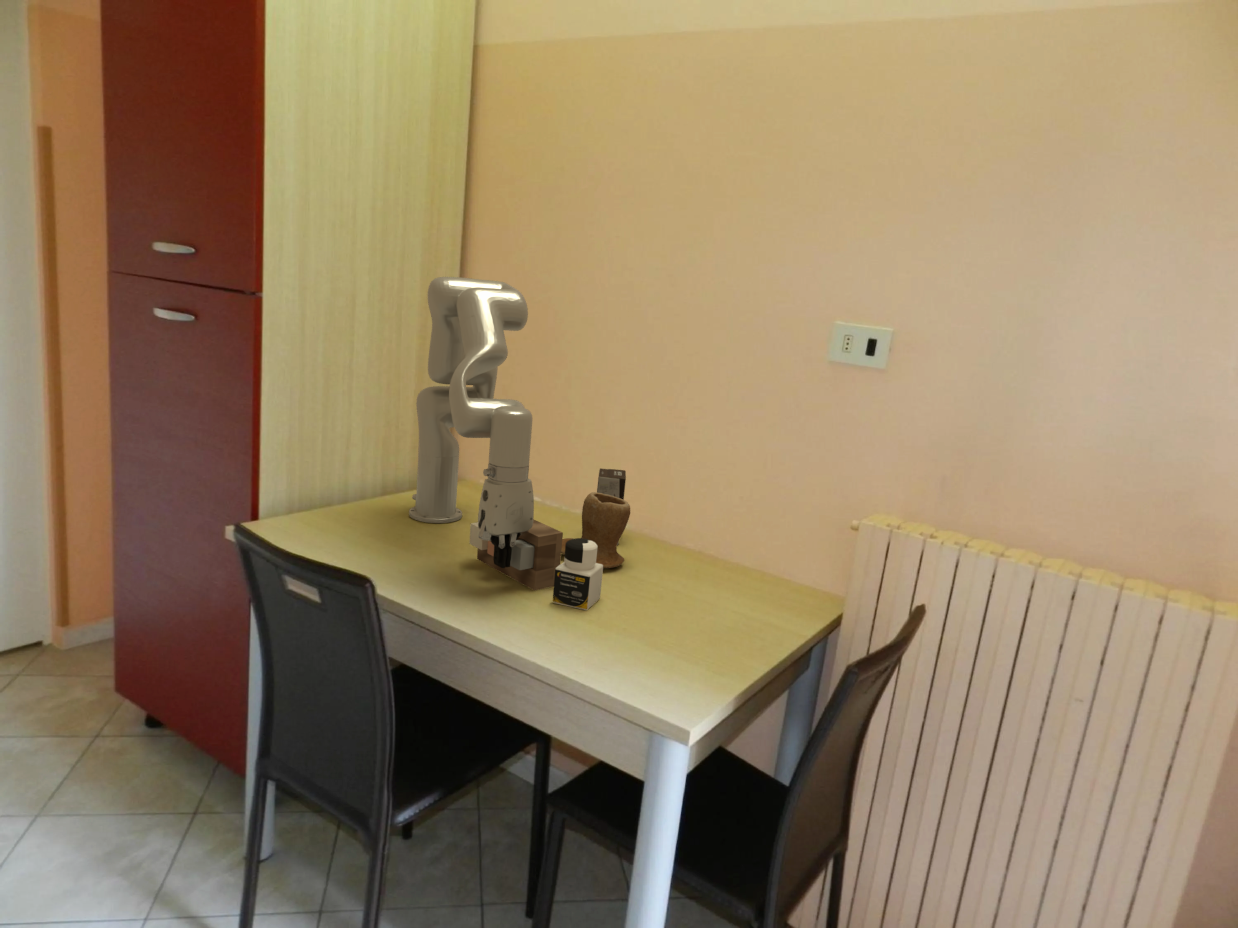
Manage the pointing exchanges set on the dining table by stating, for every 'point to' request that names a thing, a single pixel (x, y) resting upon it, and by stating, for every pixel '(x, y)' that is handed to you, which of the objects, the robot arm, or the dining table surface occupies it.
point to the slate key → (522, 555)
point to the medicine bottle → (578, 575)
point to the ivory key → (477, 537)
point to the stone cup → (604, 526)
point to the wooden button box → (544, 557)
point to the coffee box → (612, 483)
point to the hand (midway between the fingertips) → (501, 565)
